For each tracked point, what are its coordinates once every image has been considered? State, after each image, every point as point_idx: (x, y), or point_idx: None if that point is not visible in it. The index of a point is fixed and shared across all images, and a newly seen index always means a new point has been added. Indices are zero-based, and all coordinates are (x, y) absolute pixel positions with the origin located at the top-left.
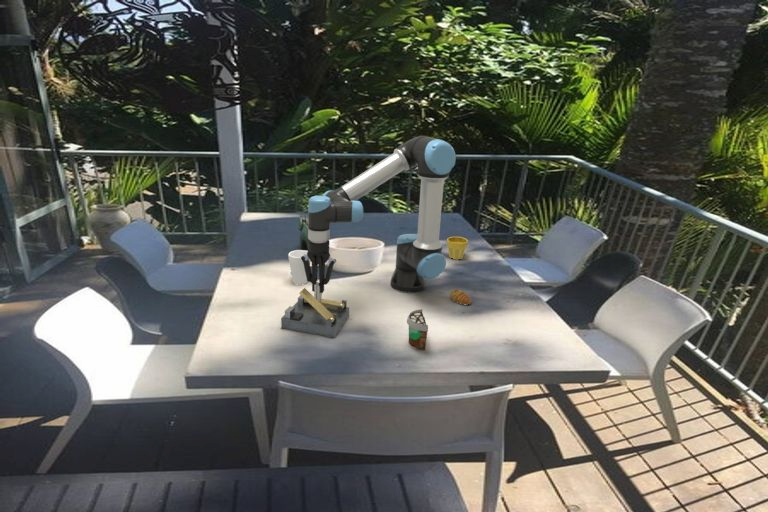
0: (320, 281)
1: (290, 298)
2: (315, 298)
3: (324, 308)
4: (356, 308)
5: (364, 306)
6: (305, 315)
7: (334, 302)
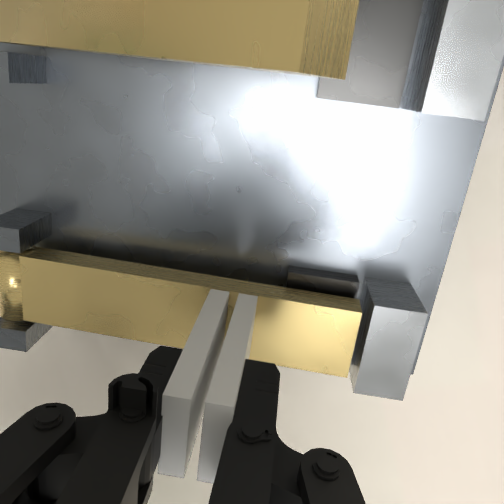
0: (123, 443)
1: (487, 449)
2: (114, 48)
3: (32, 19)
4: (40, 385)
5: (6, 413)
6: (296, 99)
7: (81, 306)
